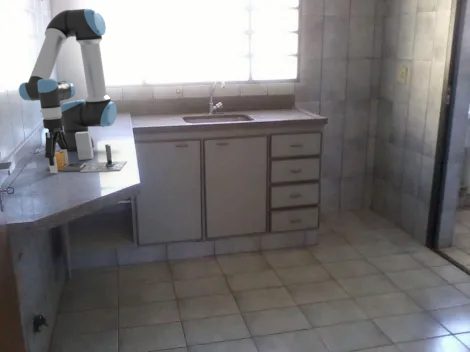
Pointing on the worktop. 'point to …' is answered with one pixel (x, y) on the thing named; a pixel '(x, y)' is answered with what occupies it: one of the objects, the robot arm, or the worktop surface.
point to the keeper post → (104, 164)
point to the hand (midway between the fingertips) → (59, 168)
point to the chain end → (66, 167)
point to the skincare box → (84, 145)
